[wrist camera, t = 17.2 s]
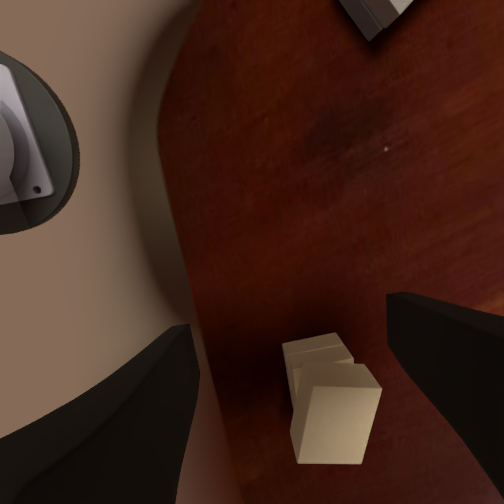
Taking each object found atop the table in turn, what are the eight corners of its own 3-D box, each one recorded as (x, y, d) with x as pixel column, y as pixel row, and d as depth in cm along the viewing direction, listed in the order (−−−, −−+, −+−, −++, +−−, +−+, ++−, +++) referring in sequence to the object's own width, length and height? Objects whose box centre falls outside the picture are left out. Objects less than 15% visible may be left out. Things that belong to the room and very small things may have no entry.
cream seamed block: (342, 393, 24) (360, 425, 21) (291, 404, 24) (300, 437, 21) (336, 331, 22) (353, 356, 19) (280, 342, 22) (289, 369, 19)
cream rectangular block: (346, 433, 21) (361, 464, 19) (289, 431, 21) (297, 463, 18) (364, 363, 20) (382, 389, 17) (302, 360, 19) (313, 386, 17)
